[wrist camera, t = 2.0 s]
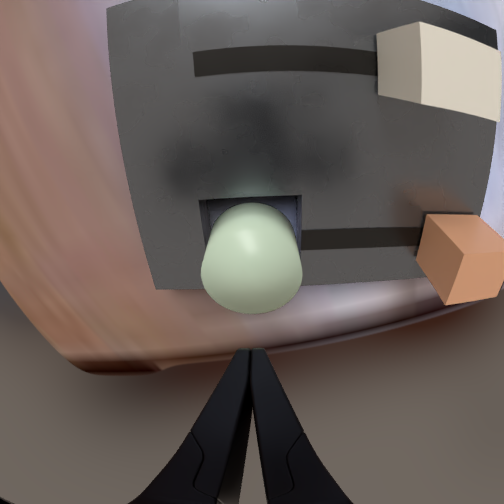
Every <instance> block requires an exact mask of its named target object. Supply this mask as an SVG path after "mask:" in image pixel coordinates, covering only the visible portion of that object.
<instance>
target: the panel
mask: <svg viewBox="0 0 504 504" xmlns="http://www.w3.org/2000/svg"><path fill="white" fill-rule="evenodd" d="M415 22H423V23H427V24H430V25H433V26H437V27H440V28H443V29H446V30H449V31H452V32H455V33H457V34H460V35H463V36H465V37H468V38H471V39H473V40H476V41H478V42H480V43H483V44H485V45H487V46H490V47H492V48H494V49H496V50H498V47H497V34H496V30H494V29H492V28H490V27H488V26H486V25H484V24H482V23H480V22H477V21H475V20H473V19H471V18H468V17H466V16H463V15H461V14H458V13H456V12H453V11H451V10H448V9H445V8H442V7H440V6H437V5H434V4H431V3H427V2H424V1H421V0H132V1H128V2H125V3H122V4H119V5H116V6H113V7H110V8H107V33H108V49H109V61H110V72H111V81H112V90H113V98H114V106H115V113H116V119H117V126H118V132H119V138H120V144H121V150H122V155H123V160H124V166H125V171H126V176H127V180H128V185H129V190H130V194H131V199H132V203H133V207H134V211H135V216H136V220H137V224H138V228H139V232H140V235H141V239H142V243H143V247H144V250H145V254H146V258H147V261H148V265H149V268H150V271H151V275H152V278H153V281H154V285H155V288H156V289H205V288H204V285H203V283H202V279H201V267H202V262H203V259H204V255H205V251H206V248H207V244H208V241H209V237H210V233H211V229H210V222H209V215H208V207H207V200H206V199H220V198H237V197H257V196H283V195H297V247H298V251H299V256H300V261H301V266H302V282H301V285H300V286H303V285H322V284H339V283H355V282H370V281H384V280H397V279H410V278H421V277H427V276H426V275H425V273H424V272H423V270H422V269H421V267H420V266H419V264H418V263H417V261H416V257H417V253H418V249H419V245H420V241H421V237H422V233H423V228H424V224H425V219H426V214H454V215H478V216H479V217H480V214H481V210H482V206H483V202H484V198H485V193H486V188H487V184H488V179H489V173H490V168H491V162H492V155H493V148H494V140H495V132H496V121H493V120H490V119H486V118H483V117H479V116H475V115H471V114H467V113H463V112H459V111H454V110H450V109H445V108H440V107H435V106H429V105H424V104H419V103H415V102H410V101H406V100H401V99H397V98H392V97H387V96H381V95H378V57H377V35H376V34H377V33H380V32H383V31H386V30H390V29H393V28H397V27H400V26H404V25H408V24H411V23H415Z"/></svg>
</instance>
